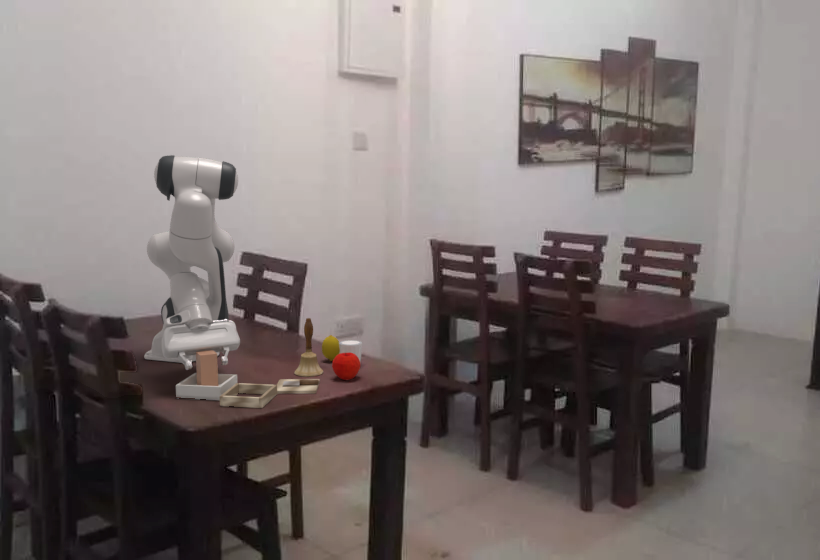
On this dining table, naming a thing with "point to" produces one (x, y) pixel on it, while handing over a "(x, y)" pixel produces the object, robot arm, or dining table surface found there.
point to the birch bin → (251, 402)
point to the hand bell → (308, 355)
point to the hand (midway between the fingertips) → (207, 366)
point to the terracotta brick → (207, 368)
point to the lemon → (330, 347)
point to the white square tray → (205, 387)
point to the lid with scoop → (297, 386)
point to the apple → (346, 365)
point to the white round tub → (351, 347)
